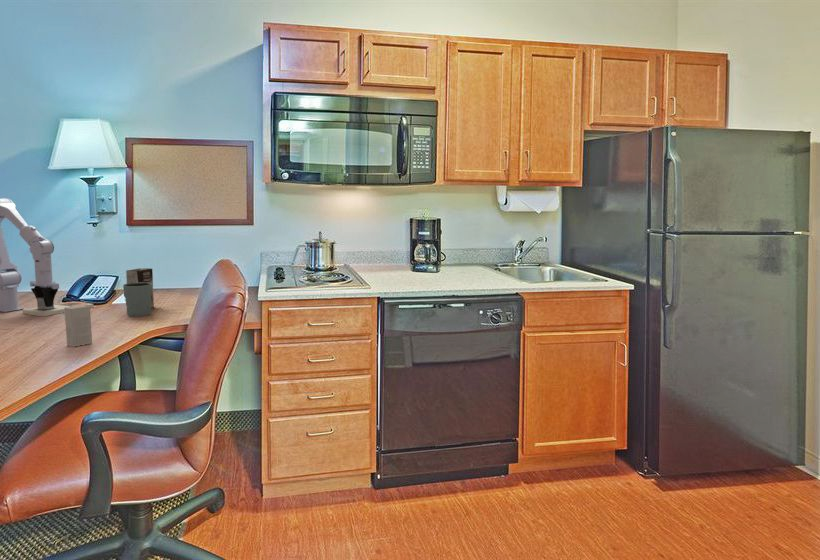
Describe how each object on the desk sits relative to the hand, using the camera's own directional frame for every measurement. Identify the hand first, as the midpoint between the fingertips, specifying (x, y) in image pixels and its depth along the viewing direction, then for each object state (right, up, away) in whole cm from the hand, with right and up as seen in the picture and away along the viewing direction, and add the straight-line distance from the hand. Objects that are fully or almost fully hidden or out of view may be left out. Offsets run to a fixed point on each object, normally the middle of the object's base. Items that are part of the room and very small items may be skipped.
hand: (45, 306), depth 254 cm
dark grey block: (0, -3, 0) cm, 3 cm away
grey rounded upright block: (+37, -4, -2) cm, 37 cm away
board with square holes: (+2, -2, +5) cm, 6 cm away
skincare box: (+39, -10, -51) cm, 65 cm away
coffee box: (+32, -2, +12) cm, 34 cm away
